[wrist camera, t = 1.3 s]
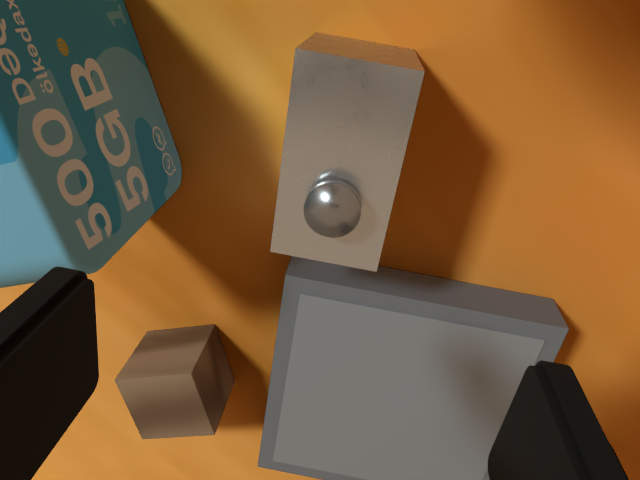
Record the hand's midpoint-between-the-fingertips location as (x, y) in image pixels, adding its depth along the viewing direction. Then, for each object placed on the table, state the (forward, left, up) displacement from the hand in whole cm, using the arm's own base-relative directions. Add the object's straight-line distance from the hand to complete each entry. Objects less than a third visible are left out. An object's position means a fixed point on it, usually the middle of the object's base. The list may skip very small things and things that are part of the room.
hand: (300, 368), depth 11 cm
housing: (0, 0, -19) cm, 19 cm away
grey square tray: (+16, +6, -19) cm, 25 cm away
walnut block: (+18, -8, -19) cm, 27 cm away
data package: (0, -13, -19) cm, 23 cm away
